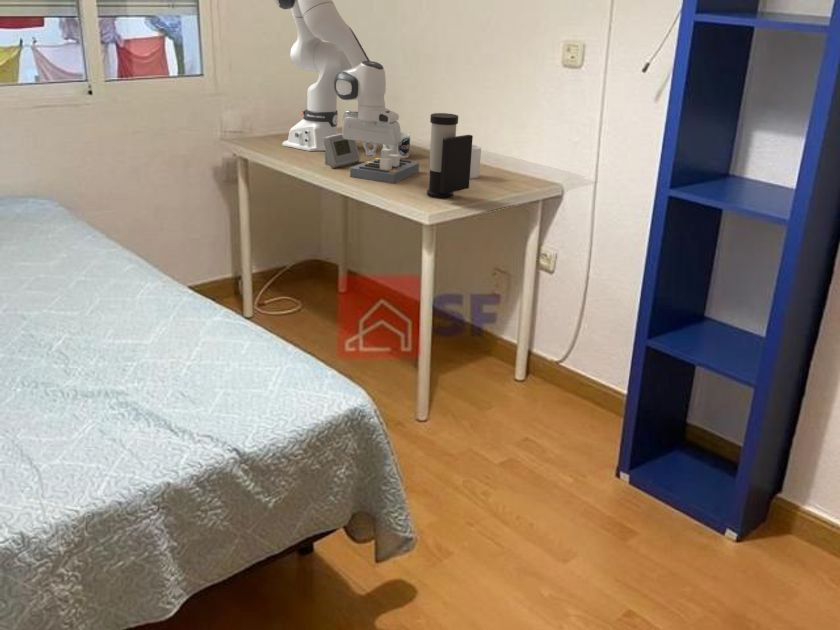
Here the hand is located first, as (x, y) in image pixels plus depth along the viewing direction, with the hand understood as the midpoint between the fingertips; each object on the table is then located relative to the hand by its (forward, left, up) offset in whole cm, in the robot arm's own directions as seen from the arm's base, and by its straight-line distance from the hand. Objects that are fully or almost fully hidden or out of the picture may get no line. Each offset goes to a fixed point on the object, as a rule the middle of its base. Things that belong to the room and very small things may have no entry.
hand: (370, 155), depth 272 cm
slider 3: (+6, +6, -4) cm, 9 cm away
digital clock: (-17, +11, -7) cm, 21 cm away
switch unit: (+3, +6, -7) cm, 10 cm away
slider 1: (0, +13, -4) cm, 14 cm away
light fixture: (+31, -10, -7) cm, 33 cm away
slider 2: (+6, -1, -4) cm, 7 cm away
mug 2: (+26, +21, -7) cm, 34 cm away
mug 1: (-7, +35, -7) cm, 36 cm away
